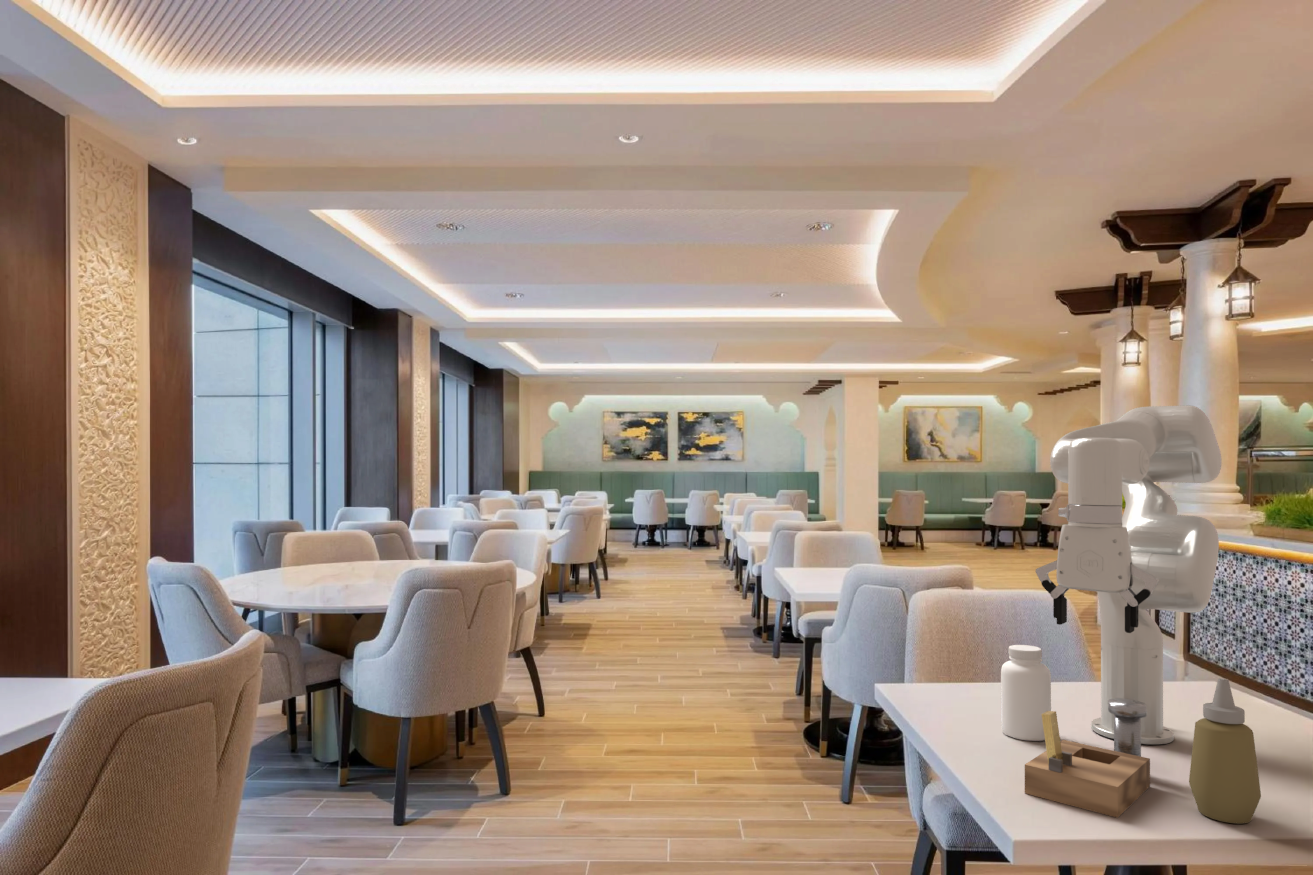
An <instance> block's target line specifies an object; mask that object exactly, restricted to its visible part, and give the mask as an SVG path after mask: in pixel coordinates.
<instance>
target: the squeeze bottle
mask: <svg viewBox="0 0 1313 875" xmlns="http://www.w3.org/2000/svg"><path fill="white" fill-rule="evenodd" d="M1212 698H1213V699H1212V702H1206V703H1203V705H1202V706H1203V707H1202V712H1203V713H1202V715H1203V718H1200V719H1198V720H1197V721H1195V722H1194V731H1193V740H1192V748H1191V751H1192V752H1191V759H1190V768H1189V775H1188V776H1189V777H1188V783H1189V786H1190V790H1191V793H1192V796H1193V799H1194V801H1195V804H1196V806H1197V809H1198V812H1199V813H1200V814H1202V815H1203V816H1205V817H1207V818H1210V819H1213V820H1215V821H1216V820H1217V821H1219V822H1224V823H1230V824H1239V825H1240V824H1248V823H1250V822H1252V820H1253V818H1254V814H1255V813H1256V809H1257V807H1258V805H1259V803H1260V799H1261V797H1262V794H1261V793H1262V792H1261V784H1260V776H1259V768H1258V760H1257V753H1256V752H1257V751H1256V744H1255V737H1254V732H1253V730H1252V729H1251V727H1249V725H1247V724H1245V719H1246V718H1245V716H1246V715H1245V713H1246V712H1245V709H1244V708H1241V707H1240V706H1236V704H1235V700H1234V696H1233V693H1232V688H1231V685H1230V681H1229V679H1226V678H1217V683H1216V687H1215V690H1214V694H1213V697H1212Z"/></svg>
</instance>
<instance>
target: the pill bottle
mask: <svg viewBox="0 0 1313 875" xmlns="http://www.w3.org/2000/svg"><path fill="white" fill-rule="evenodd" d="M1042 657H1043V650H1042V649H1041V647H1038V646H1035V645H1026V644H1013V645H1009V646H1008V659H1009V660H1007V661H1005V662H1004V663H1003V664H1002V666H1001V670H1000V694H1001V696H1000V697H1001V698H1000V700H1001V701H1000V704H1001V705H1000V707H1001V708H1000V711H1001V712H1000V713H1001V715H1000V717H1001V718H1000V719H1001V720H1000V723H1001V725H1000V726H1001V731H1002V733H1003V734H1004V735H1006V736H1008V737H1010V738H1012V739H1016V740H1021V741H1029V742H1038V741H1039V742H1041V741H1045V736H1044V729H1043V722H1042V715H1041V714H1043V713H1045V712H1046V711H1052V690H1051V689H1052V682H1051V681H1052V678H1051V676H1052V675H1051V674H1052V673H1051V670H1050V669H1049V668H1048V666H1047V665H1045V663H1042V661H1043V659H1042Z"/></svg>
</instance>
